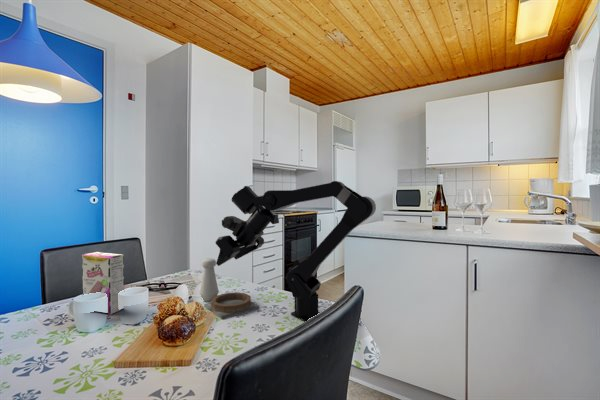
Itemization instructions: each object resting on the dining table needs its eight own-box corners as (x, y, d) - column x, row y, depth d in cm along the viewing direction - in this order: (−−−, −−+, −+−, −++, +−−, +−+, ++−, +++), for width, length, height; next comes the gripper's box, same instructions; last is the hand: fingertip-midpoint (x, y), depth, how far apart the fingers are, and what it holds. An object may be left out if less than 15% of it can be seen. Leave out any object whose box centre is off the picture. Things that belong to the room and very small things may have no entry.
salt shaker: (215, 302, 93) (215, 261, 93) (197, 302, 93) (196, 261, 93) (220, 296, 99) (220, 257, 99) (203, 296, 99) (203, 257, 99)
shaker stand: (258, 308, 89) (258, 299, 88) (222, 319, 81) (221, 309, 81) (239, 297, 97) (238, 290, 97) (204, 306, 90) (203, 298, 90)
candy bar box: (81, 310, 87) (80, 254, 87) (98, 304, 92) (97, 251, 91) (109, 315, 83) (109, 257, 83) (125, 309, 88) (124, 253, 88)
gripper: (253, 205, 99) (227, 239, 103) (219, 207, 82) (189, 248, 86) (276, 228, 97) (248, 262, 101) (245, 236, 79) (213, 276, 83)
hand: (226, 261), depth 93 cm, fingers open, 9 cm apart
